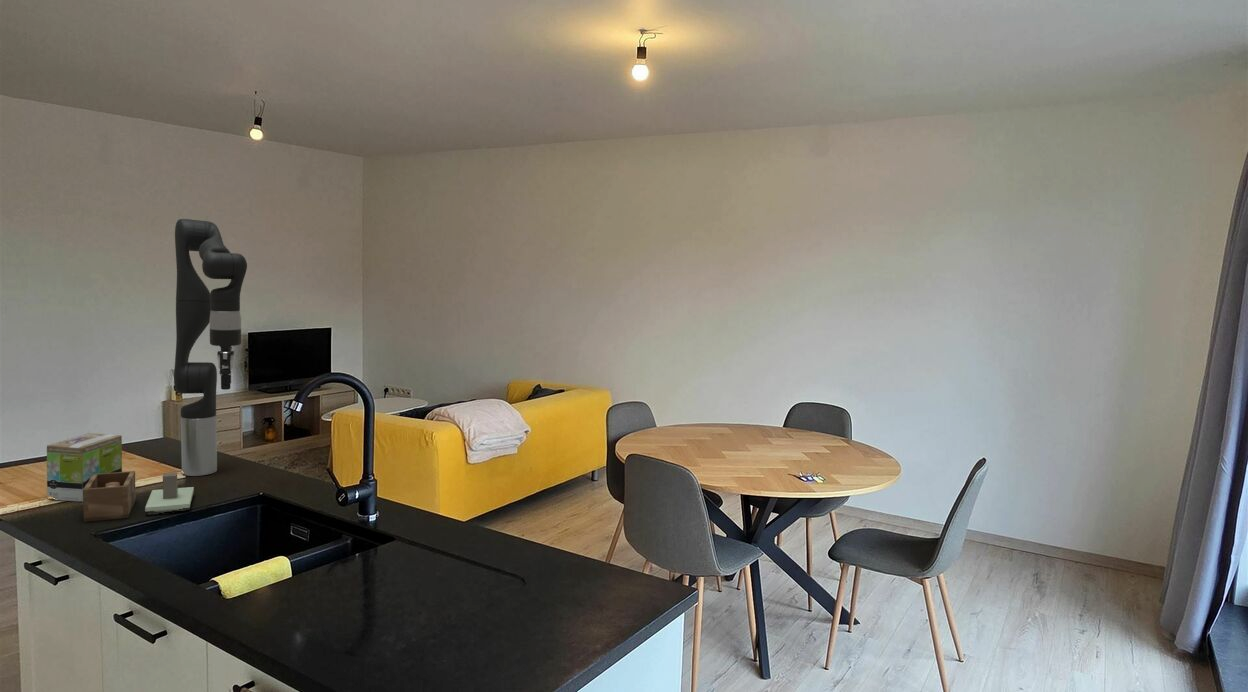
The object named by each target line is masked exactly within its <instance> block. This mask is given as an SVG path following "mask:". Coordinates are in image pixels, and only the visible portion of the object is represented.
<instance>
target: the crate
mask: <svg viewBox="0 0 1248 692" xmlns="http://www.w3.org/2000/svg"><path fill="white" fill-rule="evenodd" d="M136 490H137V489H136V470H130V471H129V470H127V471H122V472H113V473H99V474H93V476H92V477H91V479H90V480H89V481H88V483H87V484H86V486H85V487H84V489H83V502H82V504H83V505H82V506H83V508H82V509H83V522H84V523H86V522H87V523H88V522H98V521H109V520H119V519H128V518H129V516H130V514H131V511H132V510H133V508H134V505H135V503H136V500H137V499H136V498H137V497H136V495H137V493H136Z"/></svg>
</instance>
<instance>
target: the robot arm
mask: <svg viewBox="0 0 1248 692" xmlns="http://www.w3.org/2000/svg"><path fill="white" fill-rule="evenodd" d="M222 237H223V236H222V235H221V232H220V229H219V227H218V226H217V224H215V223H214V222H212V221H209V220H199V219H190V218H188V219H187V218H180V219H177V221H176V223H175V228H174V248H175V261H176V262H175V263H176V290H175V293H176V294H175V326H176V327H175V329H176V331H175V334H176V335H175V336H176V340H175V341H176V342H175V344H176V345H175V358H174V367H173V368H174V371H173V386H174V389H175V392H176V393H178V394H181V395H182V394H185V395H186V394H195V395H196V394H203V397H201V398H200V399H199V400H196V401H194V402H192V403H188V404H186V405H183V406H182V407H180V408H181V409H180V440H181V441H180V443H181V444H180V445H181V446H180V447H181V448H180V449H181V452H180V453H181V472H182V471H183V472H184V474H185V475H184V476H191V477H198V476H199V477H200V476H206V475H210V474H211V475H212V474H214V473H216V472H217V470H218V448H217V447H218V443H217V442H218V439H217V438H218V436H217V434H218V433H217V430H218V429H217V383H218V382H217V381H218V370H217V366H218V369H219V375H220V389H221V390H224V391H225V390H230V389H231V384H232V370H233V368H234V366H233V365H234V359H235V351H234V350H232V349H233V347H236V346H240V345H241V344H242V316H241V292H242V287H243V283H244V279H245V277H246V274H247V269H248V262H247V259H246V258H245V256H244V255H242V254H241V253H239V252H238V253H235V252H234V253H233V252H230V250H229V248H228V247H226V245H225V244H224V242H223V238H222ZM190 252H198V255H199V258H200V259H201V261H202V264H201V268H202V272H203V274H204V276H205V277H206V278H209V279H211V280H230V282H229V284H228V285H227V286H223V287H218V288H217V287H216V288H213V289H211V292H210V290H209V288H208V287H207V285H206V283H204V281H203V280H202V279H201V277H200V276H199V274H198V272H197V271H196V269H195V267H194V265H193V262H192V260H191V256H190V255H191V254H190ZM208 326H209V344H210V345H211V346H215V347H219V348H220V350H217V352H216V353H217V354H216V356H217V357H216V358H217V361H218V364H217V366H216V364H215V363H213V362H208V361H207V362H206V361H205V362H203V361H202V362H197V361H196V362H195V361H194V362H192V361H191V362H190V361H189V358H190V355H191V354H190V353H191V351H192V349H193V347H194V345H195V343H196V342H197V340H198V339H199V338H200V336H201V335H202V334H203V332H204V331H205V330H206V328H207V327H208Z"/></svg>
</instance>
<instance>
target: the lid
mask: <svg viewBox="0 0 1248 692" xmlns="http://www.w3.org/2000/svg"><path fill="white" fill-rule="evenodd" d="M194 488H195V487H194V486H191V487H187V486H186V487H178V472H165V473H164V472H163V475H162V489H152V490H151V493H150V495H149V498H148V500H147V501H146V505H145V507H144V511H145V512H148V511H154V512H165V511H172V510H179V509H183V508H189V509H190V508H191V502H192V500H193V496H194V490H195V489H194Z"/></svg>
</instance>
